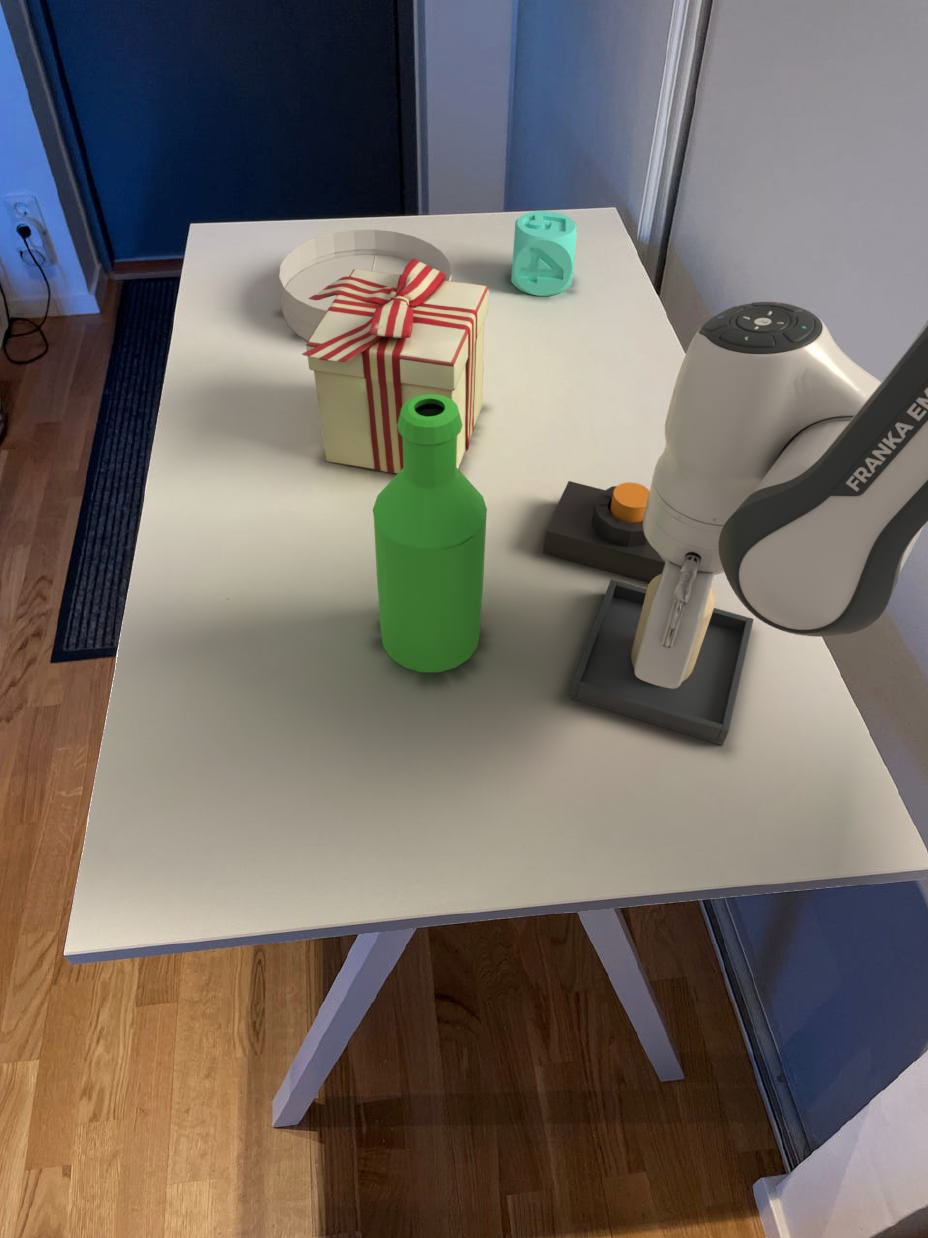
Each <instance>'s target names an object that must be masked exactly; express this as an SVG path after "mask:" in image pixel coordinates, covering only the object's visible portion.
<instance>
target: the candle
mask: <svg viewBox="0 0 928 1238" xmlns="http://www.w3.org/2000/svg"><path fill="white" fill-rule="evenodd" d="M661 575H662V574H660V575H658V576H656V577H655V578H654V579H652V581H651V582H648V583H649V584H648V585H647V587H646V589H647V592H646V596H645V600H644V604H643V608H642V612H641V616H640V620H639V624H638V628H637V631H636V635H635V639H634V643H633V648H632V653H631V661H632V665H633V667H634V668H635V663H636V659H637V655H638V652H639V648H640V644H641V641H642V637H643V634H644V630H645V626H646V623H647V619H648V616H649V612H650V609H651V606H652V602H653V599H654V596H655V593H656V590H657V587H658V584H659V581H660V578H661ZM715 606H716V596H715V593H714V590H713V589H712V588H711V589H710V593H709V597H708V600H707V604H706V608H705V611H704V615H703V619H702V622H701V625H700V629H699V632H698V635H697V638H696V642H695V645H694V648H693V651H692V654H691V657H690V660H689V664H688V667H687V670H686V673H685V676H684V679H683V681H684V680H686V679H687V678H688V677H689V676H690V674H691V673H692V671H693V668H694V665H695V663H696V660H697V657H698V654H699V651H700V648H701V645H702V642H703V639H704V636H705V633H706V630H707V627H708V624H709V621H710V618H711V615H712V612H713V609H714V608H715ZM683 681H682V682H683Z"/></svg>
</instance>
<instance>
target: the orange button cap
mask: <svg viewBox="0 0 928 1238" xmlns="http://www.w3.org/2000/svg"><path fill="white" fill-rule="evenodd" d="M616 486H617V487H616V488H615V489H614V491H613V496H612V502H611V507H610V511H611V513H612V515H613V516H614V517H615V518H617V519H618V520H621V521H624V522H628V523H634V522H642V521H643V517H644V513H645V508H646V504H647V500H648V496H649V491H650V489H648V487H646V486H644V485H642V484H640V483H638V482H632V481H631V482H630V481H629V482H627V481H626V482H622V483H620V484H618V485H616Z"/></svg>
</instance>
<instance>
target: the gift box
mask: <svg viewBox="0 0 928 1238" xmlns="http://www.w3.org/2000/svg"><path fill="white" fill-rule="evenodd" d="M445 277H446V274H444V273H442V272H440V271H438V270H436V269H434V268H432V267H429V266H428V265H426V264H424V263H422V262H420V261H418V260H416V259H412V260H411V261H410V262H409V263H408V264H407V265H406V267H405V269H404V271H403V274H402V275H398V274H389V273H382V272H374V271H366V270H357V269H354V270H353V271H352V273H351V274H350V276H348V277H342V278H340V279H338V280H337V281H335V282H333V283H332V284H330V285H329V286H327V287H326V288H324V289H323V290H322V291H320V292H319V293H318V294H316V295H314V296H312V297H310V298H309V299H311V300H321V299H323V298H327V297H330V296H335V295H336V298H335V299H334V301H333V302H332V304H331V305H330V307H329V308H328V310H327V312H326V314H325V316H324V317H323V319H322V320H321V322H320V323H319V325H318V326H317V328H316V329H315V331H314V332H313V334H312V335H311V337H310V339H309V340H307V342H306V343H305V346H306V351H305V352H303V353H302V354H301V355H302V356H305V357H307V361H308V369H309V370H310V371H313V373H314V381H315V389H316V397H317V404H318V412H319V418H320V425H321V426H320V427H321V435H322V440H323V441H322V442H323V448H324V449H323V450H324V455H325V461H326V462H327V463H331V464H337V465H338V464H339V465H345V466H350V467H356V468H363V469H367V470H368V469H369V470H374V471H378V472H385V473H392V474H398V473H399V472H400V471H401V470H402V469H403V437H402V435H401V434H400V433H399V432H398V427H397V424H398V420H399V416H400V412H401V409H402V406H403V404H404V403H406V402H407V401H408V400H409V399H412V398H414V397H416V396H421V395H425V394H436V395H441V396H445V397H447V398H449V399H452V400H453V401H454V402H455V403H456V404H457V407H458V410H459V414H460V417H461V421H462V425H463V426H462V429H461V432H460V433H459V434H458V435H457V462H456V467H457V468H458V469H459V468H460V465H461V462H462V460H463V458H464V455H465V453H466V452H468V450H469V449H470V439H471V437H472V436H473V434H474V429H475V426H476V423H477V422H478V418H479V416H480V413H481V410H482V409H483V405H484V355H485V354H484V353H485V352H484V351H485V350H484V349H485V320H486V318H487V315H488V314H489V293H490V292H489V286H488V285H486V284H485V285H484V284H477V283H469V282H461V281H453V280H451V281H447V280H444V278H445Z"/></svg>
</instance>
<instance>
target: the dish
mask: <svg viewBox="0 0 928 1238" xmlns="http://www.w3.org/2000/svg"><path fill="white" fill-rule="evenodd" d="M412 259H416V260H418V261H420V262H422V263H424V264H426V265H428V266H429V267H432V268H434V269H436V270H438V271H440V272H442V273H444V274H446V277H445V278H444V280H447V281H452V269H451V262H450V261H449V259H448V258H447V256H446V255H445V254H444V253H443V251H441V250H440V249H439V248H437V246H435V245H433V244H432V243H431V242H427V241H426V240H423V239H421V238H419V237H416V236H414V235H411V234H406V233H402V232H398V231H391V230H384V229H383V230H382V229H352V230H344V231H336V232H331V233H328V234H325V235H321V236H317V237H314V238H312V239H310V240H308V241H306V242H304V243H302V244H300V245H298V246H296V247H295V248H294V249H293V250H292V251H290V252H289V253H288V254H287V255H286V256H285V258H284V259H283V260H282V262H281V264H280V266H279V276H278V278H279V285H280V304H281V312H282V315H283V318H284V320H285V322H286V324H287V326H288V327H289V328H290V329H291V331H293V333H295V334H296V335H298V337H300V338H302V339H304V340H305V341H308V340H309V339H310V337H311V335H312V334H313V332H314V331H315V329H316V328H317V326H318V325H319V323H320V322H321V320H322V319H323V317H324V316H325V314H326V312H327V310H328V308H329V307H330V305H331V304H332V302H333V301H334V299H335V298H336V295H335V296H330V297H327V298H323V299H321V300H311V299H309V298H310V297H312V296H314V295H316V294H318V293H319V292H320V291H322V290H323V289H324V288H326V287H327V286H329V285H330V284H332V283H333V282H335V281H337V280H338V279H340V278H342V277H348V276H350V274H351V273H352V271H353V270H354V269H357V270H366V271H374V272H382V273H389V274H398V275H402V274H403V271H404V269H405V267H406V265H407V264H408V263H409V262H410V261H411V260H412Z"/></svg>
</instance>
